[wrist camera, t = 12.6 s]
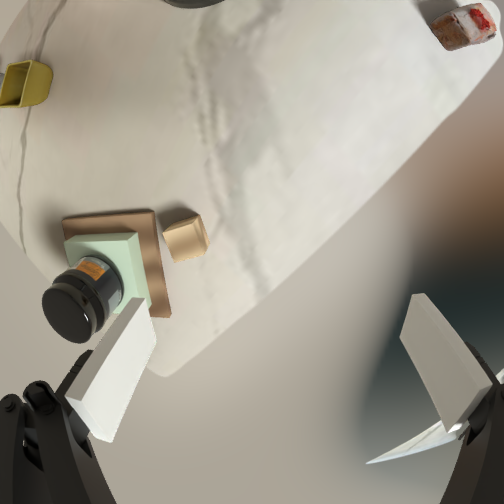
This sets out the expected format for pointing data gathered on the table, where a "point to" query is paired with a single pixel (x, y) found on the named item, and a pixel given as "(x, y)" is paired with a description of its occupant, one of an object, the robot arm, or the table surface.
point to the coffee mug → (1, 80)
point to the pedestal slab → (114, 260)
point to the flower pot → (25, 84)
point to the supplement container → (83, 298)
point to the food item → (464, 27)
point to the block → (186, 239)
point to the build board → (148, 246)
